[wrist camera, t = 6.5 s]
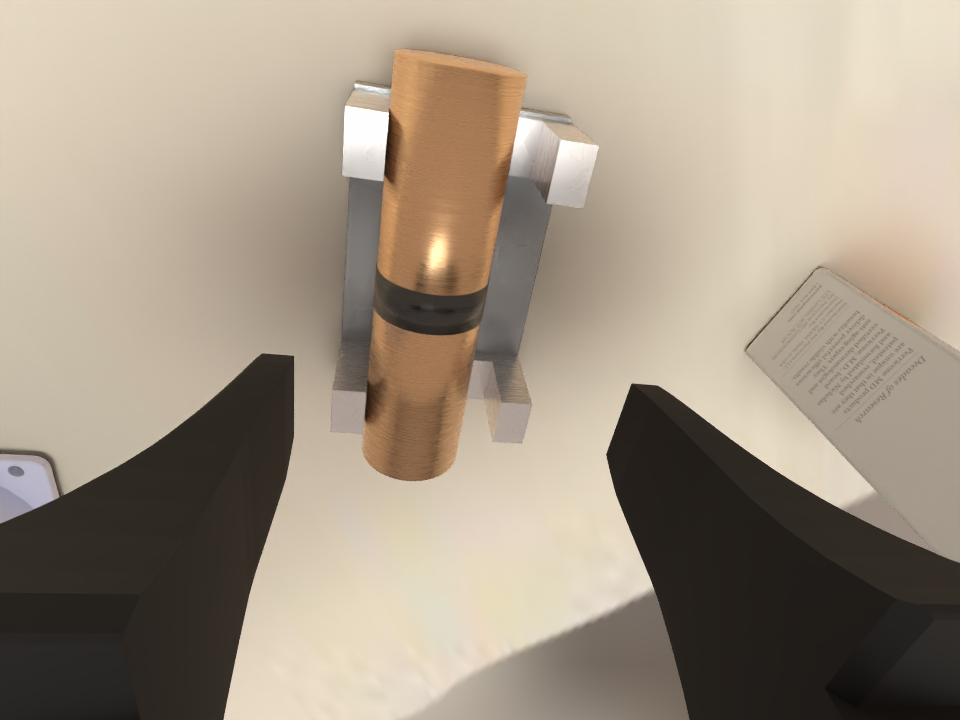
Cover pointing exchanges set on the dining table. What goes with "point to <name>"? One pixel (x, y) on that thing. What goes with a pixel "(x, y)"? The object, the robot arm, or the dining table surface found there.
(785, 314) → the skincare box
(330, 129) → the dining table surface
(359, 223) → the cradle
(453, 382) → the tube
